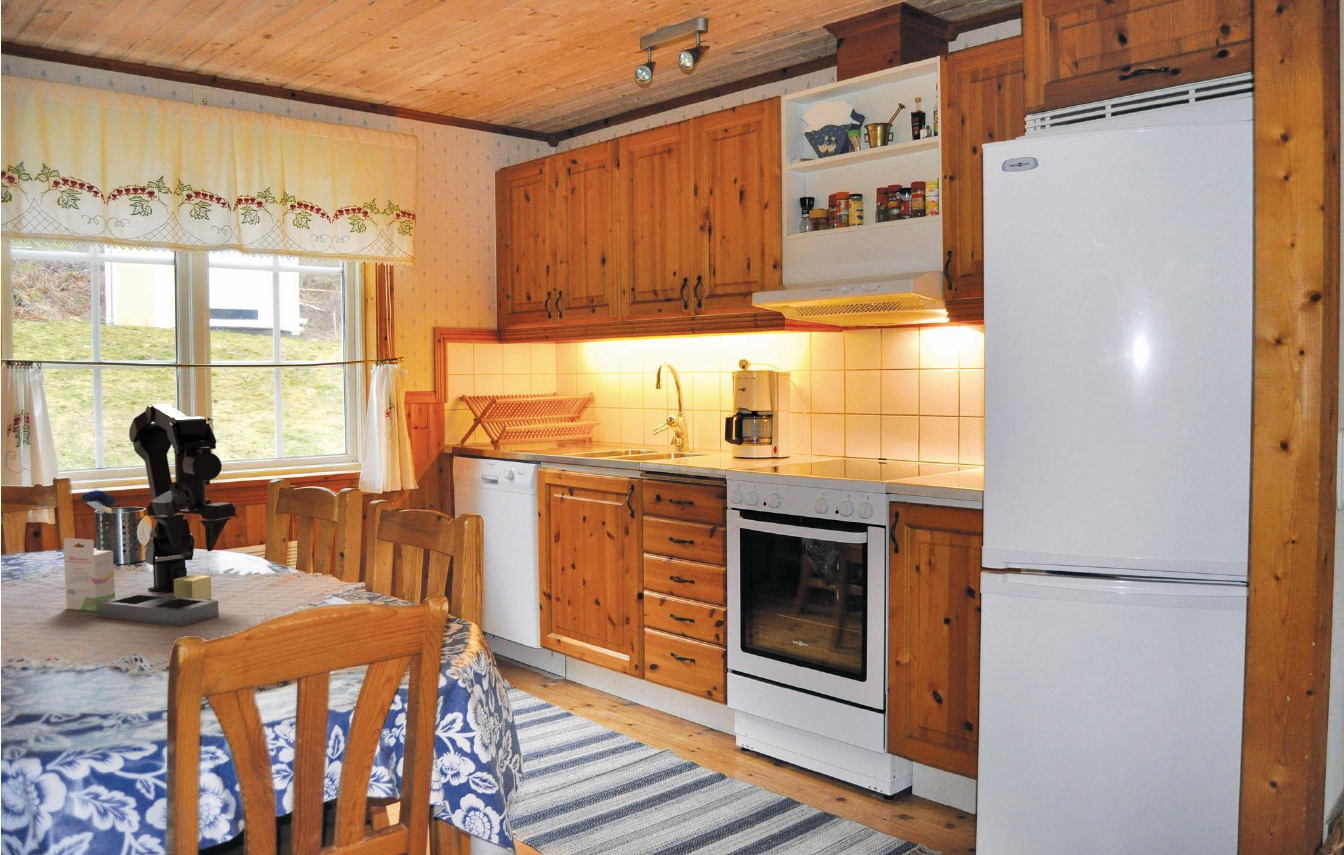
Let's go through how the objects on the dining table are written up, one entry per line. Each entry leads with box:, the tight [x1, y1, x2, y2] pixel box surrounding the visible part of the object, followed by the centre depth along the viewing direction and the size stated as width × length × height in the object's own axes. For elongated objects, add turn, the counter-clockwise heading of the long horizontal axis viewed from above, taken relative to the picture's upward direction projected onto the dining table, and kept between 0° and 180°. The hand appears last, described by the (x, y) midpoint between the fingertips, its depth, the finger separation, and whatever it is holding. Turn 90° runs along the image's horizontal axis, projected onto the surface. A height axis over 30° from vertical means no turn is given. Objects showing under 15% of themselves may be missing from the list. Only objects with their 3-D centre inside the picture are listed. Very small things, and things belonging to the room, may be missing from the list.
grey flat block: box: [96, 592, 220, 628], centre depth 200 cm, size 22×9×3 cm, turn 69°
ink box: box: [63, 537, 116, 612], centre depth 208 cm, size 9×5×15 cm, turn 71°
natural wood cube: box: [173, 574, 212, 600], centre depth 214 cm, size 5×5×5 cm
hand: (192, 549), depth 213 cm, fingers open, 9 cm apart
